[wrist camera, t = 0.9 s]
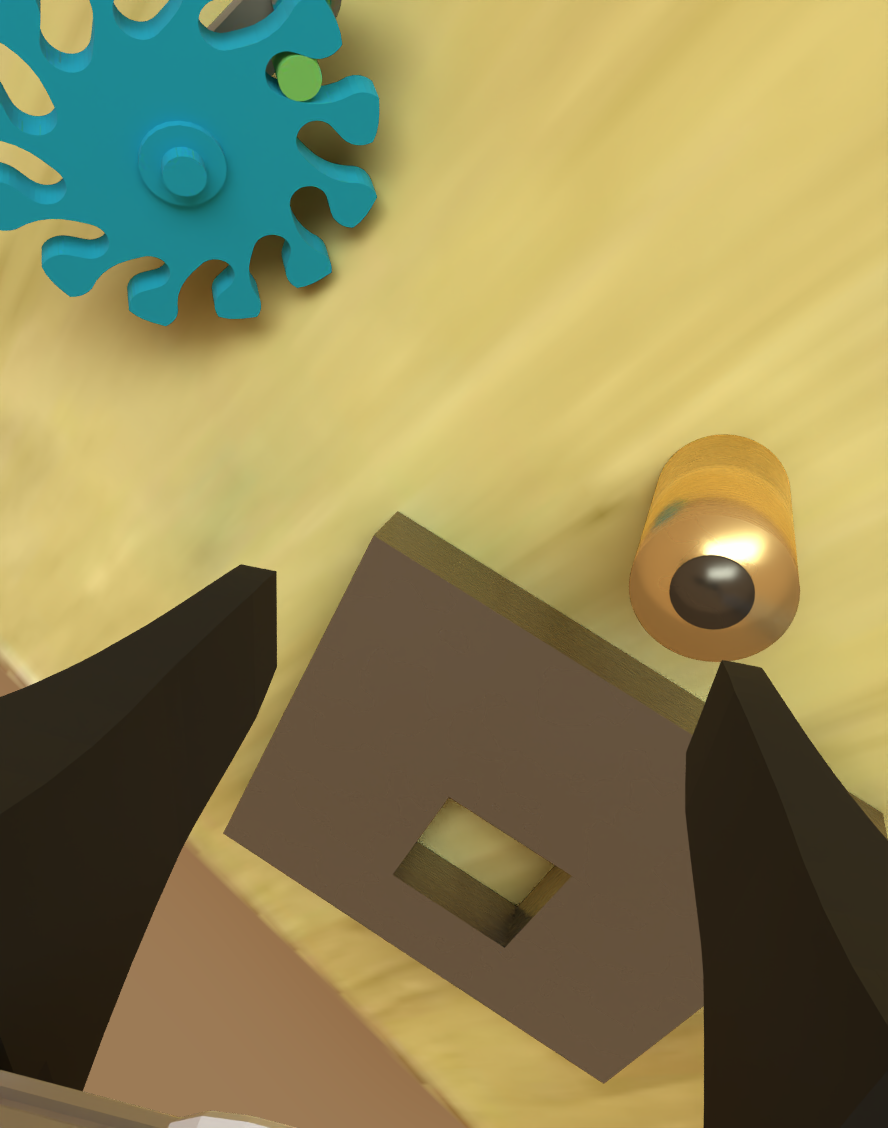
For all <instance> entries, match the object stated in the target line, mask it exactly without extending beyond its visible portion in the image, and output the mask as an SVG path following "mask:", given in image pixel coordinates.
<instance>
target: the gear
mask: <svg viewBox="0 0 888 1128" xmlns="http://www.w3.org/2000/svg"><path fill="white" fill-rule="evenodd" d="M113 1H114V0H90V3H91V6H92V10H93V24H92V34H91V40H90V43H89V45H88V46H87V48H85V49H84V50H83V51H81V52H79V53H75V54H67V53H63V52H60V51H58V50H57V49H55V48H53V47H52V46H51V45H50V44H49V43H48V42H47V41H46V40H45V38H44V36H43V34H42V32H41V29H40V0H0V43H2V44H4V45H5V46H7V47H8V48H9V49H11V50H12V51H13V52H15V53H16V54H17V55H19V56H20V57H21V58H22V59H23V60H24V61H25V62H26V63H27V64H28V65H29V66H30V67H31V69H32V70H33V71H34V72H35V74H36V75H37V76H38V77H39V79H40V81H41V82H42V84H43V86H44V87H45V89H46V91H47V93H48V95H49V97H50V99H51V101H52V103H53V105H54V107H55V108H54V109H53V111H52V112H51V113H49V114H47V115H44V116H32V115H28V114H26V113H24V112H22V111H21V110H19V109H18V108H17V107H16V106H15V105H14V104H13V103H12V102H11V100H10V98H9V97H8V95H7V93H6V91H5V89H4V87H3V85H2V84H1V82H0V141H4V142H7V143H10V144H13V145H16V146H18V147H20V148H22V149H24V150H26V151H28V152H30V153H32V154H33V155H35V156H37V157H38V158H40V159H41V160H43V161H44V162H45V163H47V164H48V165H49V166H51V167H52V168H53V169H55V170H56V171H57V172H58V173H59V174H60V175H61V176H62V177H63V179H62V180H61V181H59V182H58V183H56V184H52V185H43V184H39V183H36V182H34V181H32V180H30V179H29V178H27V177H26V176H25V175H23V174H22V173H20V172H19V171H18V170H16V169H15V168H13V167H11V166H10V165H7V164H5V163H1V162H0V230H2V231H7V230H14V229H17V228H19V227H21V226H23V225H25V224H28V223H31V222H34V221H38V220H45V219H65V220H72V221H78V222H82V223H87V224H91V225H94V226H97V227H98V228H100V229H101V230H103V231H104V232H105V234H104V235H103V236H101V237H100V238H97V239H92V240H88V239H82V238H77V237H72V236H64V235H63V236H55V237H52V238H50V239H48V240H47V241H46V242H45V243H44V244H43V246H42V268H43V270H44V271H45V273H46V275H47V276H48V277H49V278H50V280H51V281H52V282H53V283H54V284H55V285H57V286H58V287H59V288H60V289H61V290H62V291H64V292H65V293H66V294H67V295H69V296H70V297H76V296H81V295H84V294H85V293H87V292H89V291H90V290H91V289H92V287H93V286H94V284H95V282H96V280H97V279H98V278H99V277H100V276H101V275H102V274H103V273H104V272H105V271H107V270H108V269H109V268H111V267H113V266H115V265H117V264H119V263H122V262H125V261H128V260H131V259H135V258H140V257H144V256H153V257H157V258H159V259H161V260H163V261H164V262H165V264H164V265H163V266H161V267H160V268H157V269H154V270H150V271H146V272H142V273H139V274H137V275H135V276H134V277H133V278H132V279H131V280H130V281H129V283H128V287H127V291H128V303H129V311H130V312H132V313H133V314H135V315H136V316H138V317H140V318H142V319H144V320H147V321H150V322H153V323H156V324H160V325H164V326H167V325H169V324H171V323H172V322H173V321H174V320H175V318H176V317H177V313H178V305H177V302H178V295H179V292H180V289H181V287H182V285H183V283H184V282H185V280H186V279H187V278H188V277H189V276H190V274H191V273H192V272H193V271H194V270H196V269H197V268H198V267H199V266H200V265H201V264H202V263H204V262H206V261H208V260H213V259H218V260H222V261H225V262H227V263H228V264H229V265H228V266H227V268H226V269H224V270H223V271H222V272H221V273H220V274H219V275H218V276H217V277H216V278H215V279H214V281H213V284H212V294H213V300H214V306H215V310H216V313H217V315H218V316H219V317H222V318H228V319H243V318H251V317H257V316H258V314H259V313H260V310H261V302H260V297H259V292H258V288H257V284H256V281H255V279H254V278H253V277H252V275H251V274H250V271H249V264H250V259H251V255H252V252H253V248H254V246H255V243H256V242H257V241H258V240H259V239H260V238H262V237H264V236H267V235H278V236H281V237H283V238H284V239H285V241H284V244H283V248H282V260H283V264H284V268H285V272H286V276H287V279H288V280H289V282H290V283H291V284H292V285H293V286H295V287H297V288H299V287H304V286H307V285H310V284H312V283H314V282H316V281H318V280H320V279H322V278H323V277H325V276H327V275H328V274H330V273H331V272H332V267H331V263H330V259H329V256H328V253H327V249H326V246H325V244H324V242H323V240H321V239H320V238H319V237H318V236H316V235H314V234H312V233H311V232H309V231H308V230H307V229H306V228H304V227H303V226H302V225H301V224H300V222H299V221H298V220H297V219H296V217H295V215H294V214H293V212H292V210H291V207H290V199H291V197H292V195H293V194H294V192H296V191H297V190H298V189H300V188H302V187H306V186H314V187H317V188H319V189H321V190H322V191H323V192H324V193H325V194H326V197H327V201H328V204H329V207H330V210H331V213H332V216H333V218H334V219H335V220H336V221H337V222H338V223H339V224H341V225H343V226H346V227H352V228H353V227H355V226H356V225H357V224H358V223H360V222H361V220H362V219H363V218H364V217H365V216H366V215H367V213H368V212H369V210H370V209H371V207H372V205H373V204H374V202H375V200H376V198H377V195H376V192H375V189H374V187H373V184H372V181H371V179H370V177H369V175H368V174H367V173H366V172H365V171H364V170H363V169H361V168H359V167H356V166H347V165H339V164H334V163H331V162H329V161H326V160H324V159H322V158H320V157H319V156H317V155H315V154H314V153H313V152H312V151H310V150H309V149H308V148H307V147H306V146H305V145H304V144H303V143H302V142H301V141H300V140H299V139H298V138H297V134H298V132H299V130H300V128H301V127H302V126H303V125H305V124H306V123H308V122H311V121H324V122H326V123H328V124H329V125H330V126H332V127H333V128H334V130H335V131H336V132H337V133H338V134H339V135H340V136H341V137H342V138H343V139H344V140H345V141H347V142H349V143H351V144H354V145H366V144H369V143H372V142H373V140H374V138H375V136H376V133H377V128H378V123H379V97H378V95H377V92H376V90H375V87H374V85H373V82H372V81H371V80H370V79H368V78H367V77H364V76H361V75H352V76H348V77H345V78H343V79H341V80H339V81H337V82H335V83H331V84H328V85H324V86H321V84H322V74H321V70H320V67H319V64H318V61H317V59H322V58H326V57H329V56H331V55H332V54H334V53H335V52H336V51H337V50H338V49H339V48H340V47H341V45H342V40H341V33H340V30H339V27H338V24H337V21H336V17H337V15H338V12H339V10H340V6H341V0H233V1H232V2H231V3H230V4H229V5H228V6H227V7H226V8H225V9H224V11H223V12H222V13H221V14H220V15H219V16H218V17H217V18H216V19H215V20H214V21H213V22H212V23H211V24H210V25H209V26H208V28H206V27H205V26H204V25H203V24H202V23H201V22H200V21H199V14H200V12H201V9H202V8H203V7H204V6H205V5H206V4H207V3H208V2H210V1H212V0H169V1H168V3H167V4H166V5H165V6H164V7H163V8H162V9H161V10H160V11H159V13H158V14H157V15H156V16H155V17H153V18H152V19H150V20H148V21H144V22H138V21H133V20H130V19H128V18H127V17H125V16H124V15H122V14H121V13H120V12H119V11H118V9H117V8H116V6H115V5H114V2H113ZM274 73H276V76H277V79H276V78H274V77H272V75H273V74H274Z"/></svg>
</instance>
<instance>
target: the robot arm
mask: <svg viewBox="0 0 888 1128" xmlns="http://www.w3.org/2000/svg"><path fill="white" fill-rule="evenodd" d="M276 668H277V596H276V571H271V570H266V569H261V568H256V567H251V566H246V565H239V566H238V567H236V568H234V569H233V570H231V571H230V572H228V573H227V574H225V575H223V576H222V577H220V578H219V579H217V580H216V581H214V582H213V583H211V584H210V585H208V586H207V587H205V588H204V589H202V590H201V591H199V592H198V593H196V594H195V595H193V596H192V597H190V598H189V599H187V600H185V601H184V602H182V603H181V604H179V605H178V606H176V607H175V608H173V609H172V610H170V611H168V612H167V613H165V614H164V615H162V616H160V617H159V618H157V619H156V620H154V621H153V622H151V623H149V624H148V625H146V626H144V627H143V628H141V629H139V630H137V631H136V632H134V633H132V634H130V635H129V636H127V637H125V638H123V639H122V640H120V641H118V642H116V643H115V644H113V645H111V646H109V647H108V648H106V649H104V650H102V651H100V652H99V653H97V654H95V655H93V656H91V657H89V658H87V659H85V660H84V661H82V662H80V663H77V664H75V665H73V666H71V667H69V668H67V669H65V670H63V671H61V672H59V673H57V674H54V675H52V676H50V677H48V678H46V679H43V680H41V681H39V682H37V683H35V684H32V685H30V686H28V687H25V688H23V689H20V690H18V691H15V692H12V693H10V694H7V695H5V696H2V697H0V1128H297V1127H293V1126H289V1125H285V1124H281V1123H278V1122H273V1121H269V1120H266V1119H262V1118H258V1117H255V1116H249V1115H242V1114H234V1113H227V1112H220V1111H212V1110H210V1111H205V1112H201V1113H197V1114H193V1115H188V1116H184V1117H178V1116H174V1115H170V1114H166V1113H163V1112H159V1111H155V1110H151V1109H147V1108H143V1107H140V1106H136V1105H132V1104H128V1103H124V1102H121V1101H117V1100H113V1099H109V1098H106V1097H102V1096H98V1095H94V1094H90V1093H87V1092H83V1089H84V1086H85V1083H86V1081H87V1078H88V1075H89V1072H90V1070H91V1067H92V1064H93V1062H94V1059H95V1056H96V1054H97V1051H98V1048H99V1046H100V1043H101V1040H102V1037H103V1035H104V1032H105V1030H106V1027H107V1024H108V1022H109V1020H110V1017H111V1014H112V1012H113V1009H114V1007H115V1004H116V1002H117V999H118V997H119V994H120V992H121V989H122V987H123V984H124V982H125V979H126V977H127V974H128V972H129V969H130V967H131V964H132V961H133V959H134V957H135V954H136V952H137V950H138V948H139V945H140V943H141V941H142V938H143V936H144V933H145V931H146V929H147V926H148V924H149V922H150V919H151V917H152V914H153V912H154V910H155V907H156V905H157V903H158V901H159V898H160V896H161V894H162V892H163V889H164V887H165V885H166V883H167V880H168V878H169V876H170V874H171V872H172V869H173V867H174V865H175V862H176V860H177V858H178V856H179V854H180V852H181V849H182V848H183V846H184V844H185V842H186V840H187V838H188V836H189V834H190V832H191V830H192V828H193V827H194V825H195V823H196V821H197V820H198V818H199V816H200V815H201V813H202V811H203V809H204V808H205V806H206V804H207V802H208V801H209V799H210V797H211V796H212V794H213V792H214V790H215V789H216V787H217V785H218V783H219V782H220V780H221V778H222V777H223V775H224V773H225V771H226V770H227V768H228V766H229V765H230V763H231V761H232V759H233V758H234V756H235V754H236V752H237V751H238V749H239V747H240V745H241V744H242V742H243V740H244V738H245V737H246V735H247V733H248V731H249V730H250V728H251V726H252V724H253V722H254V721H255V719H256V717H257V714H258V712H259V709H260V707H261V705H262V702H263V700H264V698H265V695H266V693H267V690H268V688H269V685H270V683H271V680H272V678H273V675H274V673H275V670H276ZM685 814H686V824H687V832H688V841H689V850H690V858H691V867H692V875H693V883H694V891H695V899H696V907H697V916H698V924H699V932H700V940H701V951H702V964H703V991H704V1128H888V840H887V839H886V838H885V837H884V835H883V834H882V833H881V832H880V831H879V830H878V828H877V827H876V826H875V825H874V824H873V822H872V821H871V820H870V819H869V817H868V816H867V815H866V814H865V813H864V811H863V810H862V809H861V808H860V806H859V805H858V804H857V803H856V801H855V800H854V799H853V798H852V796H851V795H850V794H849V793H848V791H847V790H846V789H845V787H844V786H843V785H842V783H841V782H840V781H839V780H838V778H837V777H836V776H835V774H834V773H833V772H832V770H831V769H830V767H829V766H828V765H827V763H826V762H825V761H824V759H823V758H822V756H821V755H820V754H819V752H818V751H817V749H816V748H815V747H814V745H813V744H812V742H811V741H810V739H809V738H808V736H807V735H806V734H805V732H804V731H803V729H802V728H801V726H800V725H799V723H798V722H797V720H796V719H795V717H794V716H793V714H792V713H791V711H790V710H789V708H788V707H787V705H786V704H785V702H784V701H783V699H782V697H781V696H780V694H779V693H778V691H777V690H776V688H775V687H774V685H773V684H772V682H771V681H770V679H769V678H768V676H767V675H766V673H765V672H764V670H763V669H762V668H760V667H755V666H750V665H745V664H740V663H735V662H730V661H725V660H722V661H721V663H720V666H719V668H718V671H717V674H716V676H715V679H714V681H713V684H712V687H711V689H710V692H709V694H708V697H707V699H706V702H705V705H704V707H703V710H702V712H701V715H700V718H699V720H698V723H697V725H696V728H695V730H694V733H693V736H692V738H691V741H690V743H689V746H688V748H687V751H686V773H685Z"/></svg>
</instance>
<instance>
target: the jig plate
mask: <svg viewBox="0 0 888 1128" xmlns="http://www.w3.org/2000/svg"><path fill="white" fill-rule="evenodd" d="M704 705H705V702H703V701H701V700H700V699H698V698H697V697H695V696H693V695H692V694H690V693H688V692H687V691H685V690H684V689H682V688H680V687H679V686H677V685H676V684H674V683H672V682H671V681H669V680H668V679H666V678H664V677H663V676H661V675H660V674H658V673H656V672H655V671H653V670H652V669H650V668H648V667H647V666H645V665H644V664H642V663H640V662H639V661H637V660H636V659H634V658H632V657H631V656H629V655H627V654H626V653H624V652H623V651H621V650H619V649H618V648H616V647H615V646H613V645H611V644H610V643H608V642H607V641H605V640H603V639H602V638H600V637H599V636H597V635H595V634H594V633H592V632H591V631H589V630H587V629H586V628H584V627H583V626H581V625H579V624H578V623H576V622H575V621H573V620H571V619H570V618H568V617H566V616H565V615H563V614H562V613H560V612H558V611H557V610H555V609H554V608H552V607H550V606H549V605H547V604H546V603H544V602H542V601H541V600H539V599H538V598H536V597H534V596H533V595H531V594H530V593H528V592H526V591H525V590H523V589H522V588H520V587H518V586H517V585H515V584H514V583H512V582H510V581H509V580H507V579H505V578H504V577H502V576H501V575H499V574H497V573H496V572H494V571H493V570H491V569H489V568H488V567H486V566H485V565H483V564H481V563H480V562H478V561H477V560H475V559H473V558H472V557H470V556H469V555H467V554H465V553H464V552H462V551H461V550H459V549H457V548H456V547H454V546H453V545H451V544H449V543H448V542H446V541H445V540H443V539H441V538H440V537H438V536H436V535H435V534H433V533H432V532H430V531H428V530H427V529H425V528H424V527H422V526H420V525H419V524H417V523H416V522H414V521H412V520H411V519H409V518H408V517H406V516H404V515H403V514H401V513H400V512H397V513H396V514H395V515H394V516H393V517H392V518H391V519H390V520H389V521H388V522H387V523H386V524H385V525H384V526H383V527H382V528H381V529H380V530H379V531H378V532H377V533H376V534H375V535H374V536H373V538H372V540H371V542H370V544H369V546H368V548H367V550H366V552H365V554H364V556H363V558H362V560H361V562H360V564H359V566H358V568H357V570H356V572H355V574H354V576H353V578H352V580H351V582H350V584H349V586H348V588H347V590H346V592H345V594H344V596H343V598H342V600H341V602H340V604H339V606H338V608H337V610H336V611H335V613H334V615H333V617H332V619H331V621H330V623H329V625H328V627H327V629H326V631H325V633H324V635H323V637H322V639H321V641H320V643H319V645H318V647H317V649H316V651H315V653H314V655H313V657H312V659H311V661H310V663H309V665H308V667H307V669H306V671H305V673H304V675H303V677H302V679H301V681H300V683H299V685H298V687H297V689H296V691H295V693H294V695H293V697H292V698H291V700H290V702H289V704H288V706H287V708H286V710H285V712H284V714H283V716H282V718H281V720H280V722H279V724H278V726H277V728H276V730H275V732H274V734H273V736H272V738H271V740H270V742H269V744H268V746H267V748H266V750H265V752H264V754H263V756H262V758H261V760H260V762H259V764H258V766H257V768H256V770H255V772H254V774H253V776H252V778H251V780H250V782H249V784H248V786H247V787H246V789H245V791H244V793H243V795H242V797H241V799H240V801H239V803H238V805H237V807H236V809H235V811H234V813H233V815H232V817H231V819H230V821H229V823H228V825H227V827H226V829H225V831H224V833H223V834H225V835H226V836H228V837H230V838H231V839H233V840H234V841H236V842H237V843H239V844H240V845H242V846H243V847H245V848H246V849H248V850H249V851H251V852H252V853H254V854H255V855H257V856H258V857H260V858H261V859H263V860H264V861H266V862H268V863H269V864H271V865H272V866H274V867H275V868H277V869H278V870H280V871H281V872H283V873H284V874H286V875H287V876H289V877H290V878H292V879H293V880H295V881H296V882H298V883H299V884H301V885H302V886H304V887H306V888H307V889H309V890H310V891H312V892H313V893H315V894H316V895H318V896H319V897H321V898H322V899H324V900H325V901H327V902H328V903H330V904H331V905H333V906H334V907H336V908H337V909H339V910H340V911H342V912H344V913H345V914H347V915H348V916H350V917H351V918H353V919H354V920H356V921H357V922H359V923H360V924H362V925H363V926H365V927H366V928H368V929H369V930H371V931H372V932H374V933H375V934H377V935H379V936H380V937H382V938H383V939H385V940H386V941H388V942H389V943H391V944H392V945H394V946H395V947H397V948H398V949H400V950H401V951H403V952H404V953H406V954H407V955H409V956H410V957H412V958H413V959H415V960H417V961H418V962H420V963H421V964H423V965H424V966H426V967H427V968H429V969H430V970H432V971H433V972H435V973H436V974H438V975H439V976H441V977H442V978H444V979H445V980H447V981H448V982H450V983H451V984H453V985H455V986H456V987H458V988H459V989H461V990H462V991H464V992H465V993H467V994H468V995H470V996H471V997H473V998H474V999H476V1000H477V1001H479V1002H480V1003H482V1004H483V1005H485V1006H486V1007H488V1008H489V1009H491V1010H493V1011H494V1012H496V1013H497V1014H499V1015H500V1016H502V1017H503V1018H505V1019H506V1020H508V1021H509V1022H511V1023H512V1024H514V1025H515V1026H517V1027H518V1028H520V1029H521V1030H523V1031H524V1032H526V1033H527V1034H529V1035H531V1036H532V1037H534V1038H535V1039H537V1040H538V1041H540V1042H541V1043H543V1044H544V1045H546V1046H547V1047H549V1048H550V1049H552V1050H553V1051H555V1052H556V1053H558V1054H559V1055H561V1056H562V1057H564V1058H565V1059H567V1060H569V1061H570V1062H572V1063H573V1064H575V1065H576V1066H578V1067H579V1068H581V1069H582V1070H584V1071H585V1072H587V1073H588V1074H590V1075H591V1076H593V1077H594V1078H596V1079H597V1080H599V1081H600V1082H602V1083H605V1082H607V1081H608V1080H609V1079H611V1078H612V1077H613V1076H614V1075H616V1074H617V1073H618V1072H620V1071H621V1070H622V1069H623V1068H625V1067H626V1066H627V1065H629V1064H630V1063H631V1062H632V1061H634V1060H635V1059H636V1058H638V1057H639V1056H640V1055H641V1054H643V1053H644V1052H645V1051H647V1050H648V1049H649V1048H650V1047H652V1046H653V1045H654V1044H655V1043H657V1042H658V1041H659V1040H661V1039H662V1038H663V1037H664V1036H666V1035H667V1034H668V1033H670V1032H671V1031H672V1030H673V1029H675V1028H676V1027H677V1026H679V1025H680V1024H681V1023H682V1022H684V1021H685V1020H686V1019H688V1018H689V1017H690V1016H691V1015H693V1014H694V1013H695V1012H697V1011H698V1010H699V1009H700V1008H702V1007H703V1006H704V991H703V964H702V951H701V940H700V932H699V924H698V916H697V907H696V899H695V891H694V883H693V875H692V867H691V858H690V850H689V841H688V832H687V824H686V814H685V773H686V751H687V748H688V746H689V743H690V741H691V738H692V736H693V733H694V730H695V728H696V725H697V723H698V720H699V718H700V715H701V712H702V710H703V707H704ZM848 793H849V792H848ZM849 794H850V795H851V796H852V798H853V799H854V800H855V801H856V803H857V804H858V805H859V806H860V808H861V809H862V810H863V811H864V813H865V814H866V815H867V816H868V817H869V819H870V820H871V821H872V822H873V824H874V825H875V826H876V827H877V828H878V830H879V831H880V832H881V833H882V834H883V835H884V837H885V838H886V839H887V840H888V838H887V833H886V828H885V823H884V817H883V813H881V812H879V811H878V810H876V809H875V808H873V807H871V806H870V805H868V804H867V803H865V802H863V801H862V800H860V799H859V798H857V797H855V796H854V795H852V794H851V793H849ZM449 797H450V798H451V799H453V800H454V801H456V802H458V803H459V804H461V805H462V806H464V807H465V808H467V809H468V810H470V811H472V812H473V813H475V814H476V815H478V816H479V817H481V818H482V819H484V820H486V821H487V822H489V823H490V824H492V825H493V826H495V827H496V828H498V829H500V830H501V831H503V832H504V833H506V834H507V835H509V836H510V837H512V838H514V839H515V840H517V841H518V842H520V843H521V844H523V845H524V846H526V847H528V848H529V849H531V850H532V851H534V852H535V853H537V854H538V855H540V856H542V857H543V858H545V859H546V860H548V861H549V862H551V863H552V864H554V865H555V866H554V867H553V868H552V870H551V871H550V872H549V873H548V874H547V875H546V876H545V877H544V878H543V879H542V881H541V882H540V883H539V884H538V885H537V886H536V887H535V888H534V889H533V891H532V892H531V893H530V894H529V895H528V896H527V897H526V898H525V899H524V900H523V902H522V903H521V904H520V905H519V906H518V907H517V906H515V905H514V904H512V903H511V902H509V901H508V900H506V899H504V898H503V897H501V896H500V895H498V894H497V893H495V892H494V891H492V890H491V889H489V888H487V887H486V886H484V885H483V884H481V883H480V882H478V881H477V880H475V879H474V878H472V877H470V876H469V875H467V874H466V873H464V872H463V871H461V870H460V869H458V868H457V867H455V866H454V865H452V864H450V863H449V862H447V861H446V860H444V859H443V858H441V857H440V856H438V855H437V854H435V853H433V852H432V851H430V850H429V849H427V848H426V847H424V846H423V845H421V844H420V843H418V842H417V840H418V839H419V837H420V836H421V835H422V833H423V832H424V831H425V829H426V828H427V826H428V825H429V824H430V822H431V821H432V820H433V818H434V817H435V815H436V814H437V813H438V811H439V810H440V809H441V807H442V806H443V804H444V803H445V802H446V800H447V799H448V798H449Z"/></svg>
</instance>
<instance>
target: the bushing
mask: <svg viewBox="0 0 888 1128" xmlns="http://www.w3.org/2000/svg"><path fill="white" fill-rule="evenodd" d="M629 594H630V599H631V604H632V607H633V610H634V612H635V614H636V616H637V618H638V620H639V622H640V623H641V625H642V626H643V628H644V629H645V630H646V631H647V632H648V633H649V634H650V635H651V636H652V637H653V638H654V639H655V640H656V641H657V642H659V643H660V644H662V645H663V646H664V647H666V648H668V649H670V650H671V651H673V652H675V653H678V654H680V655H682V656H685V657H689V658H692V659H696V660H702V661H711V662H721V661H722V660H725V661H733V660H738V659H742V658H746V657H749V656H751V655H754V654H757V653H759V652H760V651H762V650H764V649H766V648H767V647H769V646H770V645H772V644H773V643H774V642H776V641H777V640H778V639H779V638H780V637H781V636H782V635H783V634H784V632H785V631H786V630H787V629H788V627H789V626H790V624H791V622H792V621H793V619H794V616H795V614H796V611H797V608H798V604H799V597H800V586H799V575H798V565H797V555H796V544H795V534H794V524H793V513H792V503H791V492H790V484H789V480H788V476H787V474H786V471H785V469H784V467H783V466H782V464H781V462H780V461H779V460H778V459H777V457H776V456H775V455H774V454H773V453H772V452H771V451H770V450H769V449H767V448H766V447H764V446H763V445H761V444H759V443H757V442H755V441H754V440H751V439H748V438H745V437H741V436H736V435H713V436H707V437H704V438H700V439H698V440H695V441H693V442H691V443H689V444H687V445H685V446H684V447H683V448H681V449H680V450H678V451H677V452H676V453H675V454H674V455H673V456H672V457H671V458H670V459H669V461H668V462H667V463H666V465H665V467H664V468H663V470H662V472H661V474H660V477H659V480H658V483H657V486H656V490H655V493H654V496H653V500H652V503H651V506H650V510H649V513H648V516H647V520H646V523H645V526H644V530H643V533H642V536H641V540H640V543H639V546H638V550H637V553H636V556H635V560H634V563H633V566H632V570H631V574H630V581H629Z"/></svg>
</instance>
